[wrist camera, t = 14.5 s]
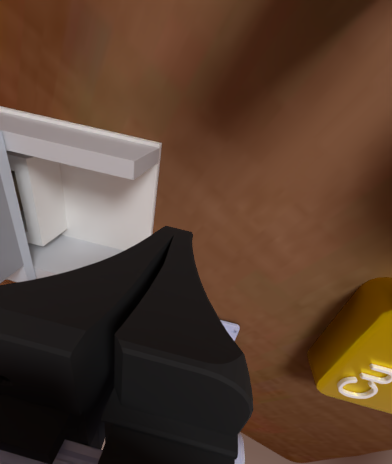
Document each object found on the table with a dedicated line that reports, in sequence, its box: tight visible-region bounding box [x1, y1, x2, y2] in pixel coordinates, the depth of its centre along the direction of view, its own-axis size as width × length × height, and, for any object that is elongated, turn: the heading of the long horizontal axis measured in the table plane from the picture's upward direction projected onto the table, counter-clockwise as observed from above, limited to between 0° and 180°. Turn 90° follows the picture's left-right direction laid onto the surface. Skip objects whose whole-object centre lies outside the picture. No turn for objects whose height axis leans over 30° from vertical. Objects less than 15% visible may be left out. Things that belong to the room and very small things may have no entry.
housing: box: [0, 106, 162, 279], centre depth 20 cm, size 13×18×6 cm
